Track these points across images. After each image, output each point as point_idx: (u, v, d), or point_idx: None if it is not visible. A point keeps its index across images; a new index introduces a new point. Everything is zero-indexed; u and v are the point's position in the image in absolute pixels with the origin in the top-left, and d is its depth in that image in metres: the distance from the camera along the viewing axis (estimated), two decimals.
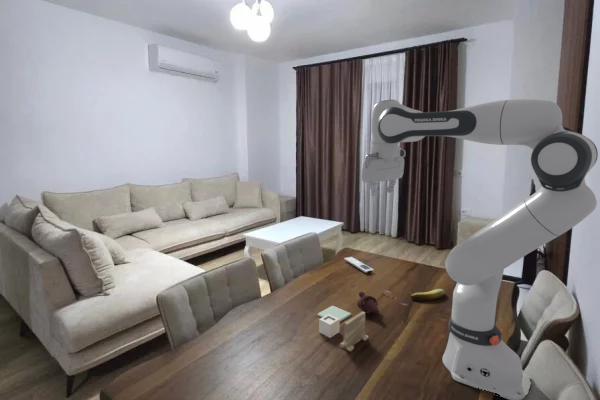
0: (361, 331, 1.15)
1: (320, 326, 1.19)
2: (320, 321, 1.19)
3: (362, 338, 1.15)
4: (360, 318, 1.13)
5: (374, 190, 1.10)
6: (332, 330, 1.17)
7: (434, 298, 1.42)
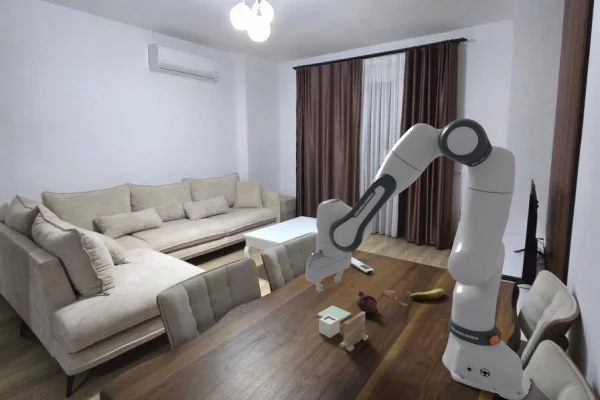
0: (361, 331, 1.15)
1: (320, 326, 1.19)
2: (320, 321, 1.19)
3: (362, 338, 1.15)
4: (360, 318, 1.13)
5: (318, 286, 1.12)
6: (332, 330, 1.17)
7: (434, 298, 1.42)
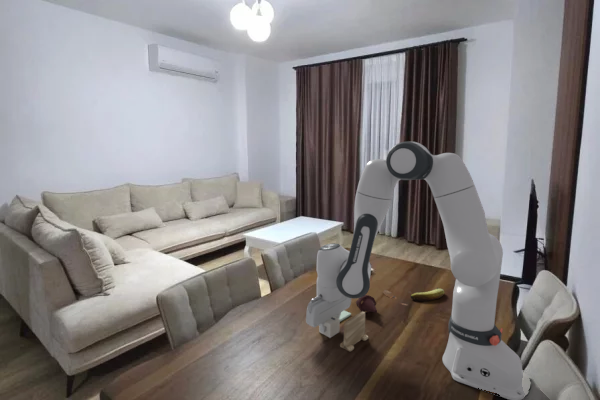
0: (361, 331, 1.15)
1: None
2: None
3: (362, 338, 1.15)
4: (360, 318, 1.13)
5: (322, 327, 1.16)
6: (332, 330, 1.17)
7: (434, 298, 1.42)
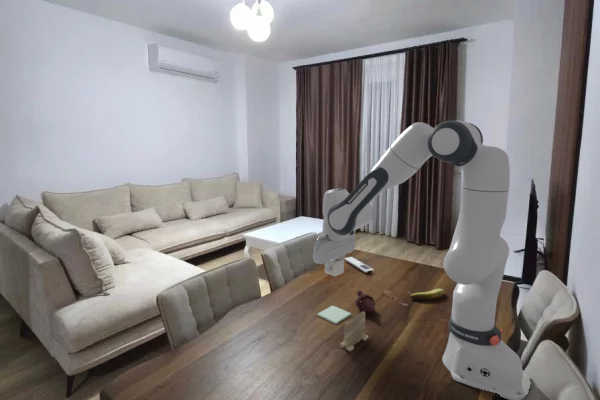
0: (361, 331, 1.15)
1: None
2: None
3: (362, 338, 1.15)
4: (360, 318, 1.13)
5: (328, 266, 1.24)
6: (337, 269, 1.25)
7: (434, 298, 1.42)
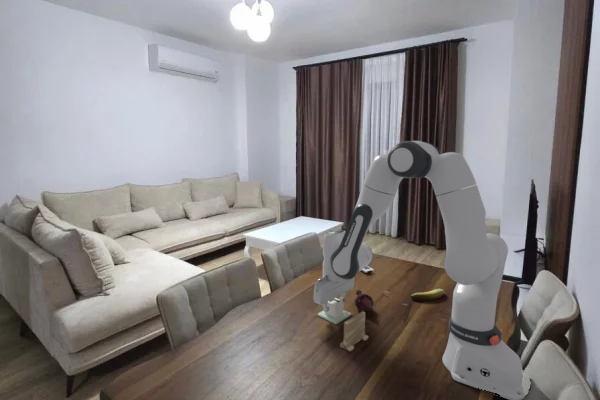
0: (361, 331, 1.15)
1: None
2: None
3: (362, 338, 1.15)
4: (360, 318, 1.13)
5: (325, 307, 1.26)
6: (337, 311, 1.28)
7: (434, 298, 1.42)
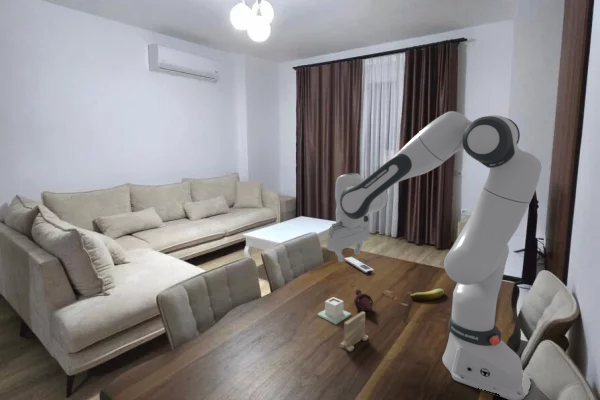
0: (361, 331, 1.15)
1: (326, 307, 1.30)
2: (326, 303, 1.29)
3: (362, 338, 1.15)
4: (360, 318, 1.13)
5: (340, 256, 1.18)
6: (337, 311, 1.28)
7: (434, 298, 1.42)
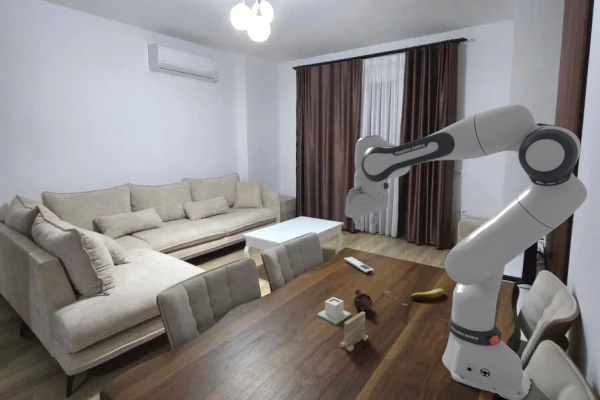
0: (361, 331, 1.15)
1: (326, 307, 1.30)
2: (326, 303, 1.29)
3: (362, 338, 1.15)
4: (360, 318, 1.13)
5: (357, 224, 1.11)
6: (337, 311, 1.28)
7: (434, 298, 1.42)
